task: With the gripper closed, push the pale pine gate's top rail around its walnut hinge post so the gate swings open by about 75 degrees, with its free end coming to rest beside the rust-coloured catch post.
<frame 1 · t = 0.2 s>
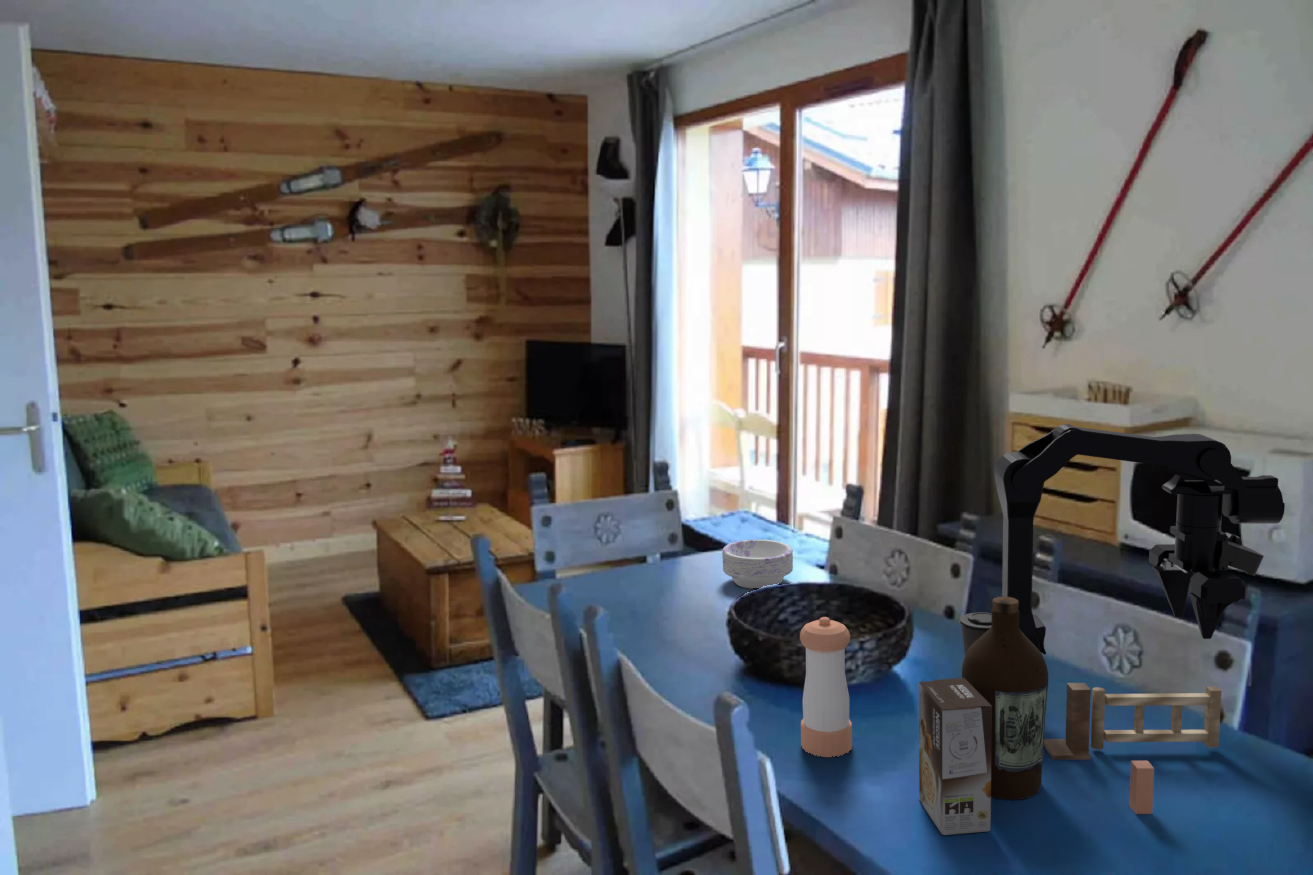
hand: (1192, 627, 152), 14 cm above the table, tool pointing down, fingers open, 9 cm apart
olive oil: (1002, 784, 137), on the table
catch post: (1140, 809, 129), on the table
coffee box: (953, 816, 129), on the table
hinge post: (1076, 751, 144), on the table
salt shaker: (826, 747, 149), on the table
gate: (1154, 718, 143), point 5 cm above the table, hinge at 0.0°
white patterned bowl: (758, 584, 227), on the table
coffee cup: (983, 674, 173), on the table
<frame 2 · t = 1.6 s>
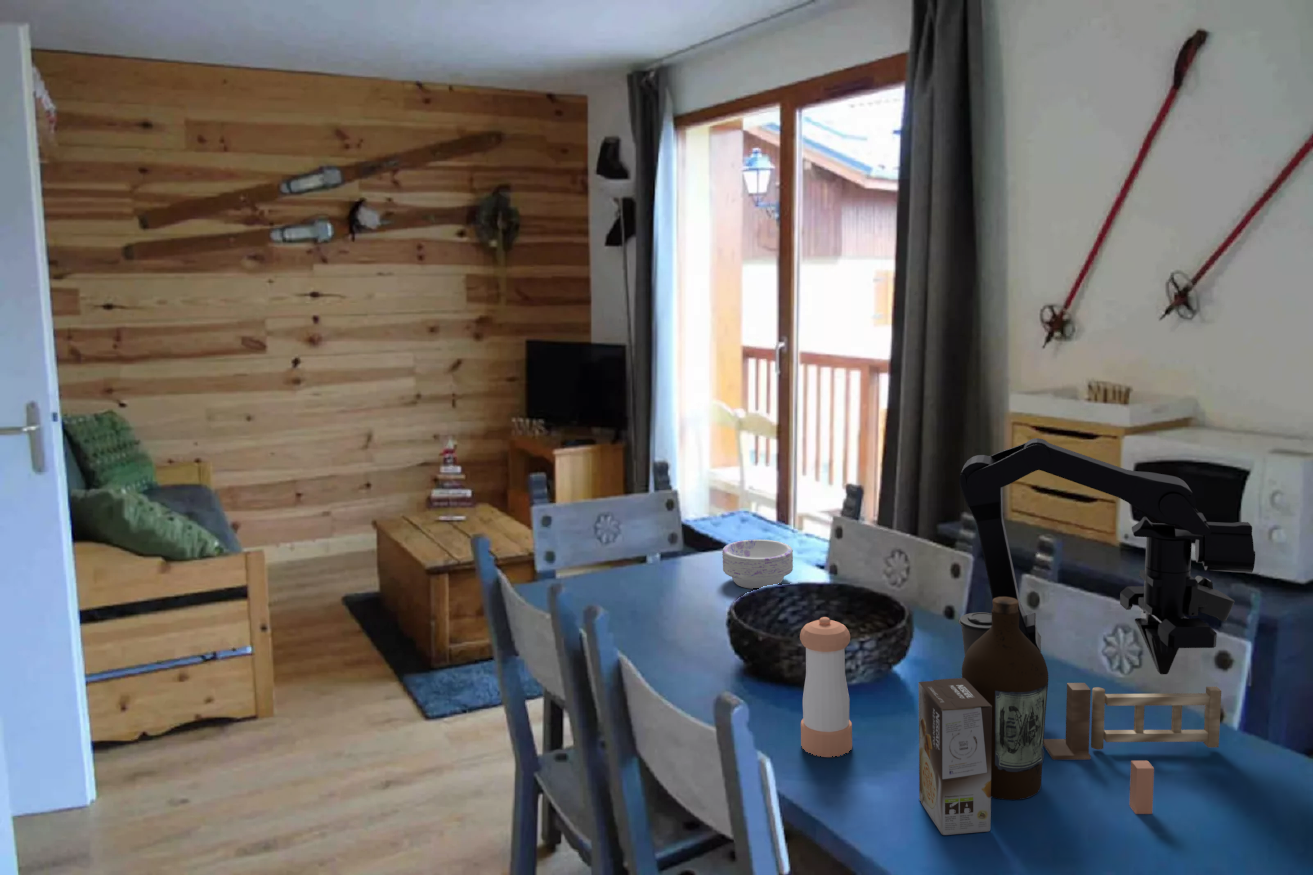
hand: (1162, 673, 148), 9 cm above the table, tool pointing down, fingers closed
nothing on the table moved.
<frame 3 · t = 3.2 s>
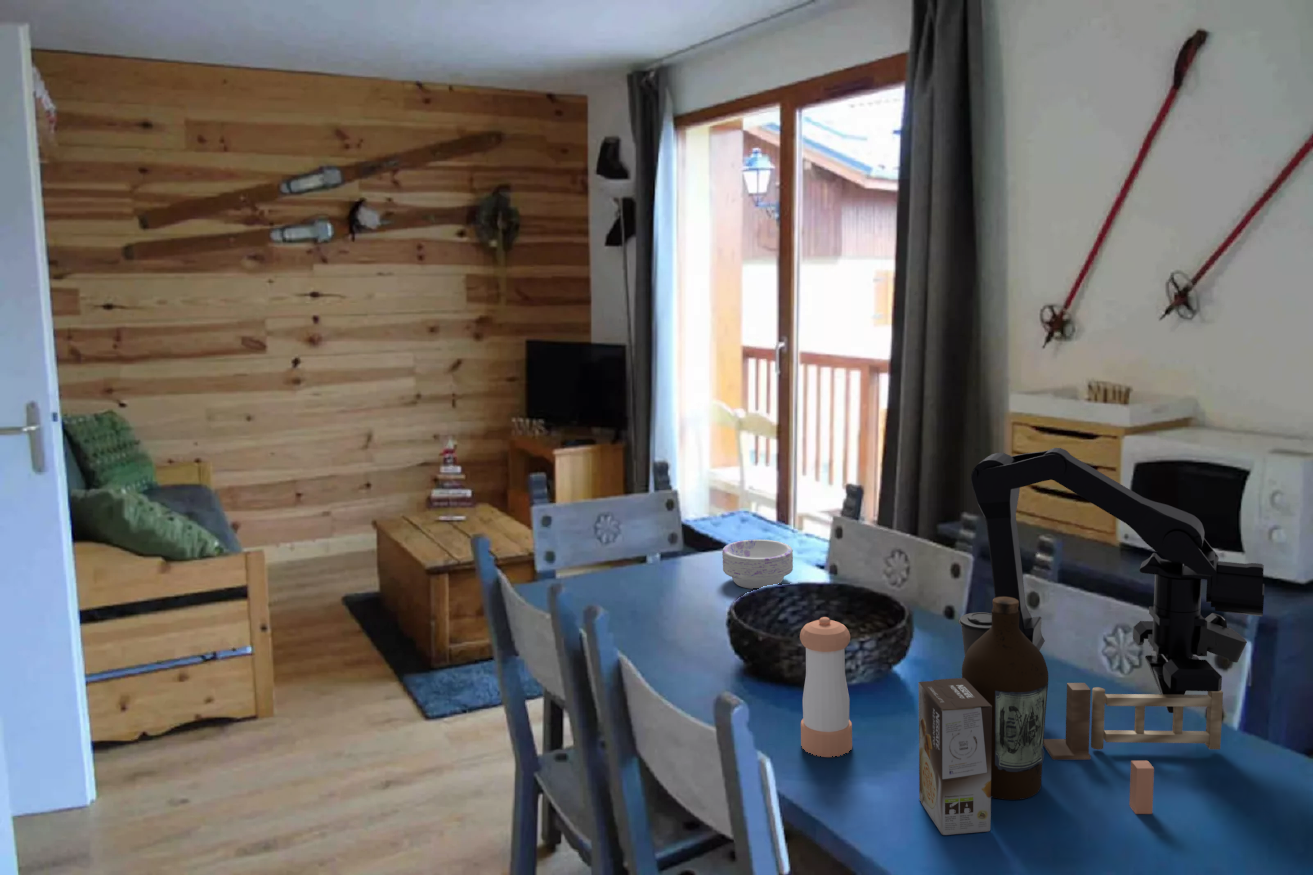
hand: (1172, 712, 145), 5 cm above the table, tool pointing down, fingers closed
gate: (1155, 718, 143), point 5 cm above the table, hinge at 2.1°, touching gripper
everything else where it was.
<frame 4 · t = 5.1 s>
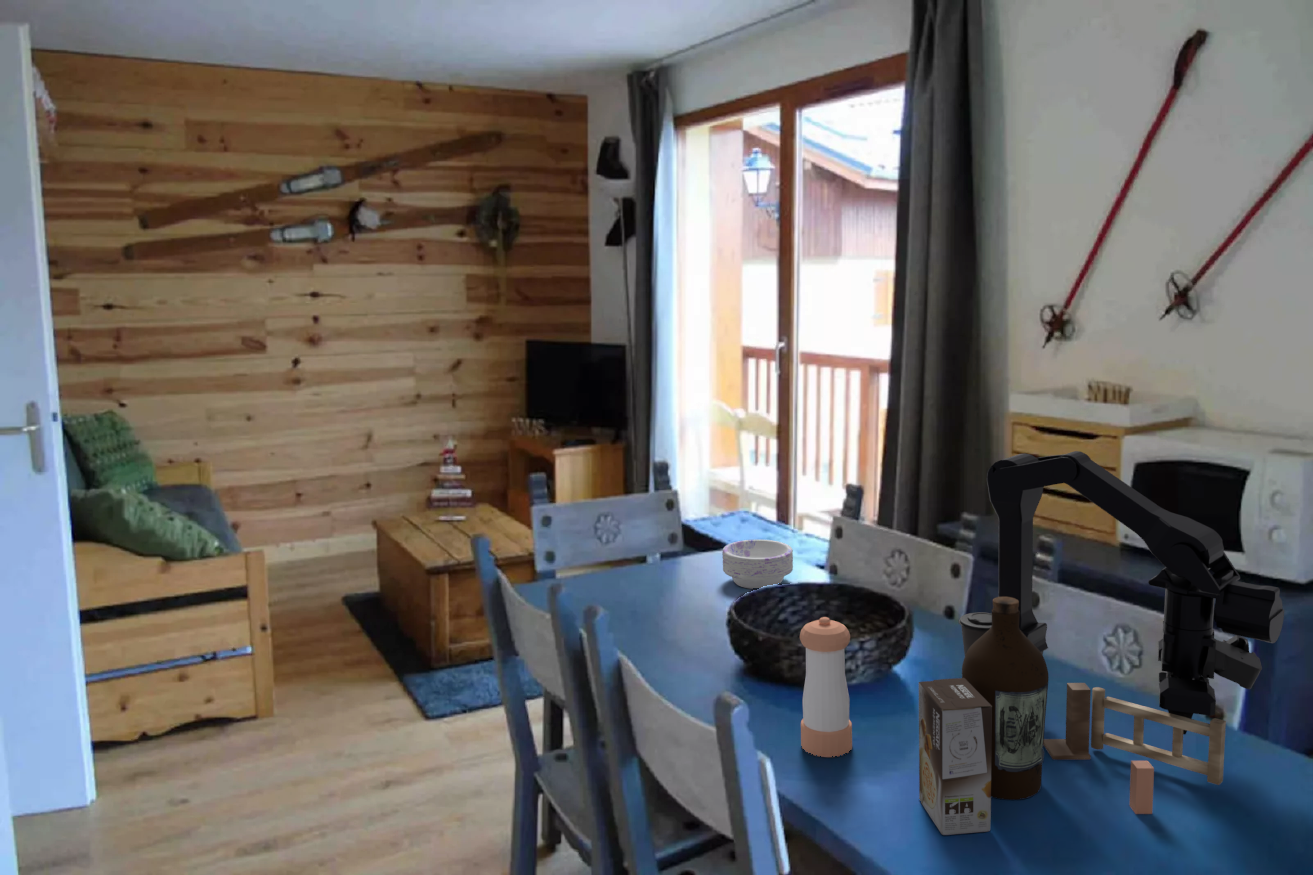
hand: (1181, 733, 138), 5 cm above the table, tool pointing down, fingers closed
gate: (1154, 734, 138), point 5 cm above the table, hinge at 42.3°, touching gripper
everything else where it was.
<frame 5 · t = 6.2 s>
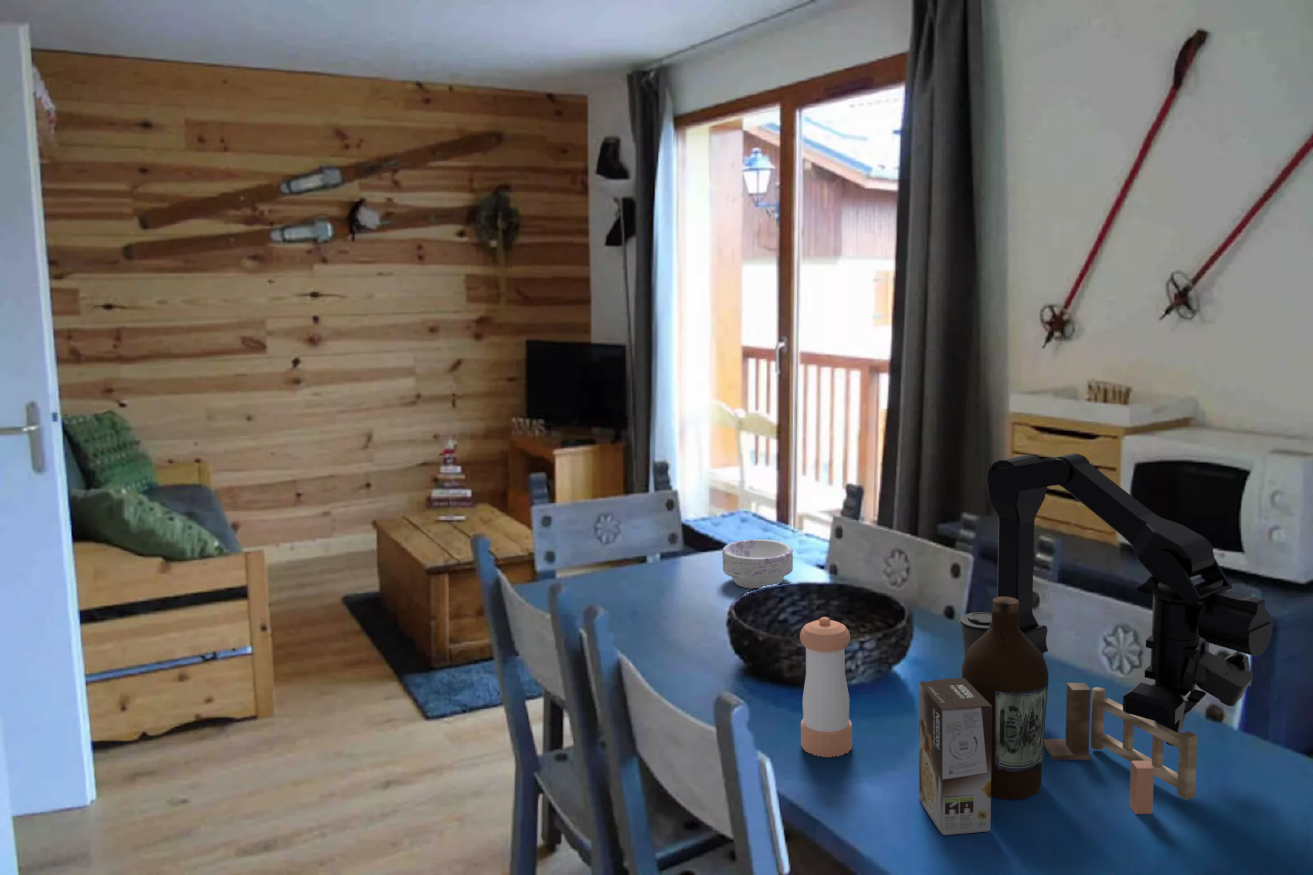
hand: (1171, 745, 135), 5 cm above the table, tool pointing down, fingers closed
gate: (1140, 740, 136), point 5 cm above the table, hinge at 66.2°, touching gripper
everything else where it was.
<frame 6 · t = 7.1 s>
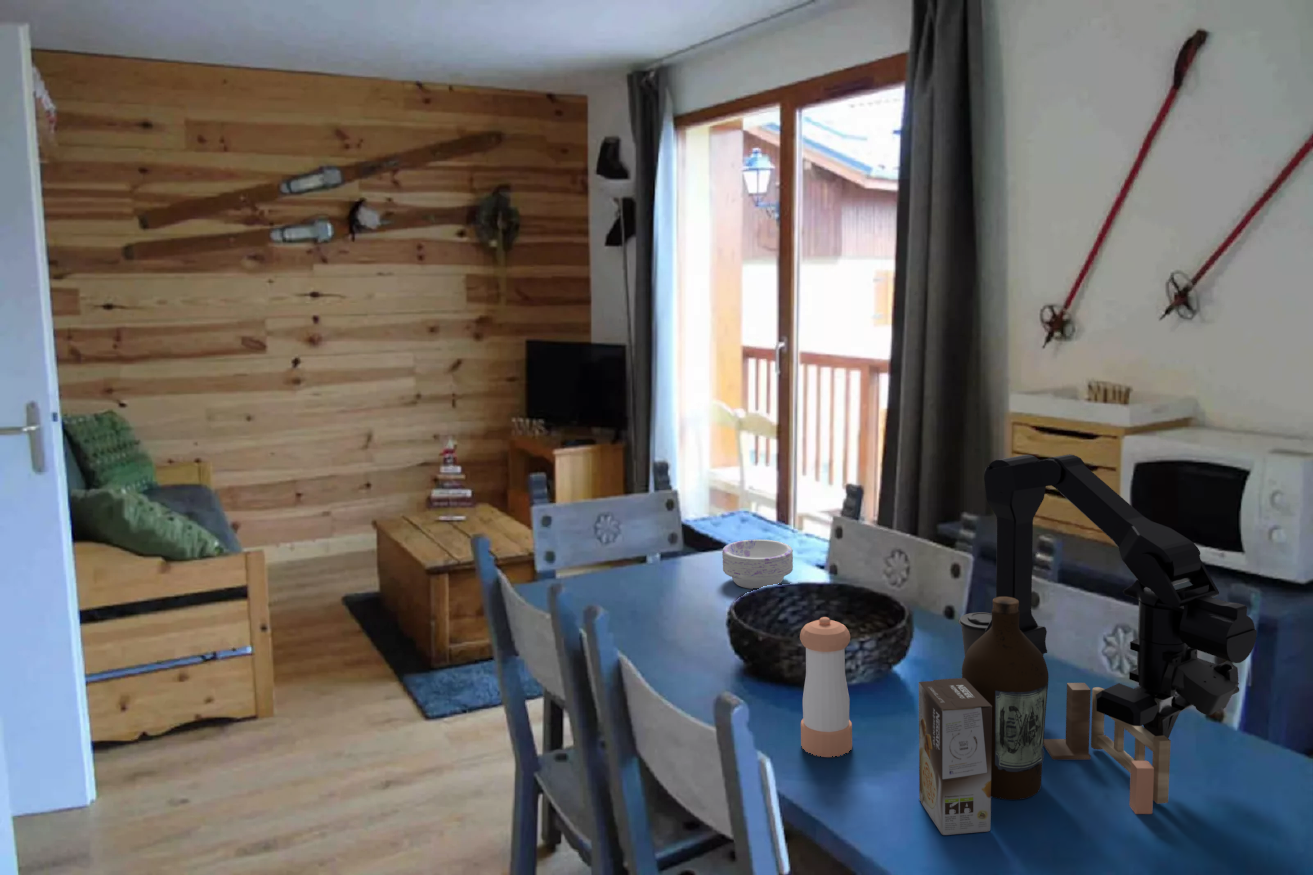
hand: (1158, 750, 134), 5 cm above the table, tool pointing down, fingers closed
gate: (1127, 742, 136), point 5 cm above the table, hinge at 80.4°, touching gripper
everything else where it was.
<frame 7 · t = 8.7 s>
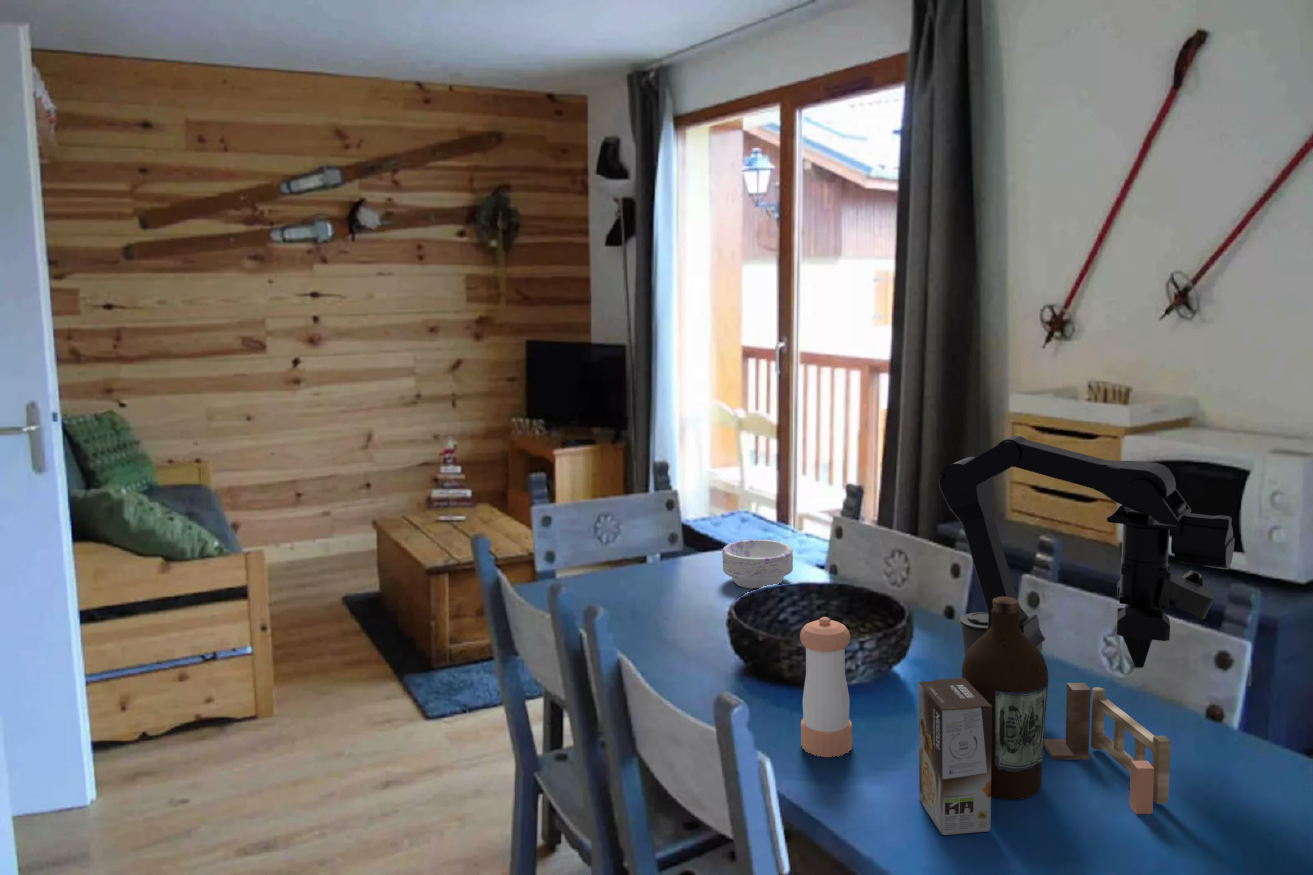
hand: (1138, 666, 143), 12 cm above the table, tool pointing down, fingers closed
gate: (1127, 742, 136), point 5 cm above the table, hinge at 80.4°
everything else where it was.
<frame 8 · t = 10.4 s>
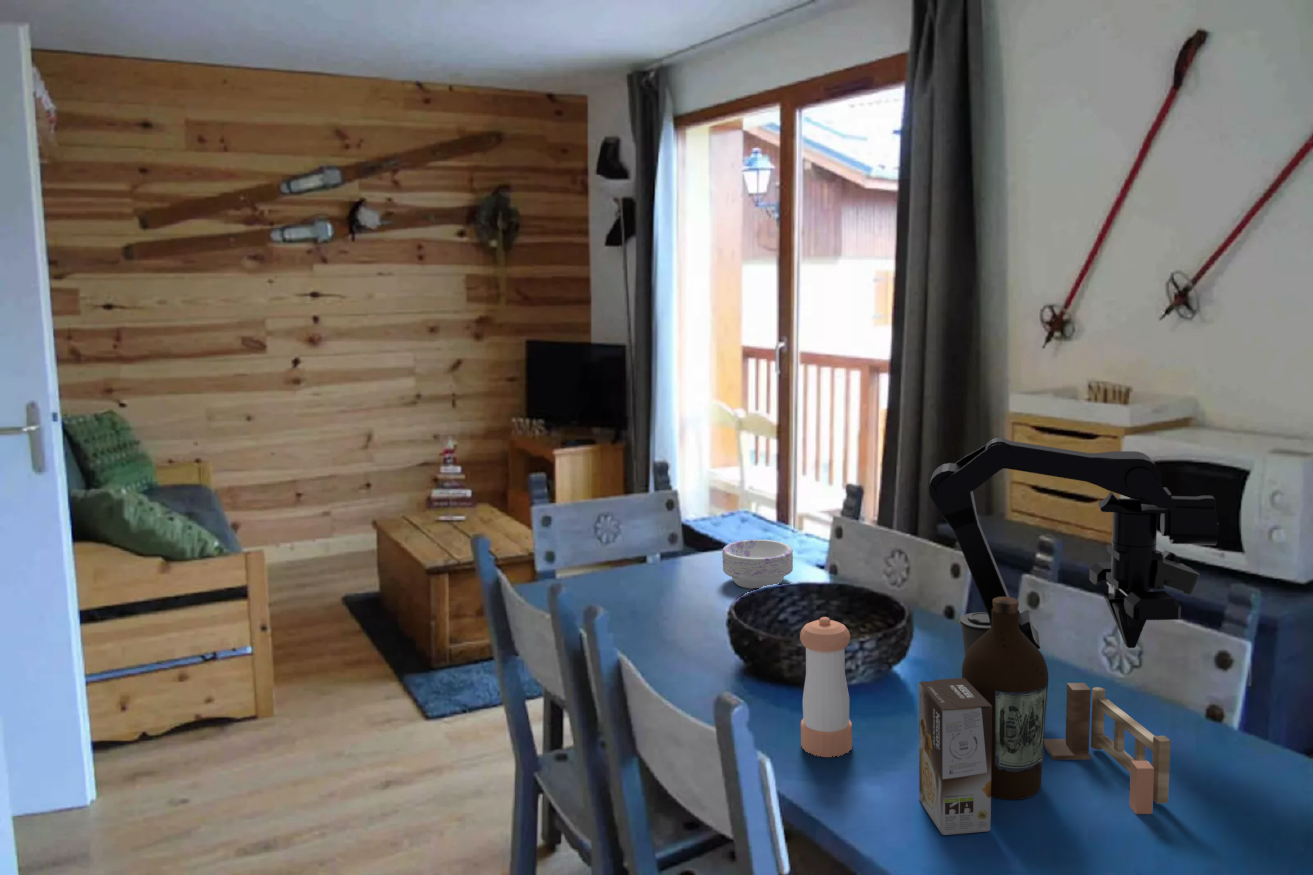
hand: (1130, 647, 150), 12 cm above the table, tool pointing down, fingers closed
nothing on the table moved.
at the end: gate at +80° (first picture: +0°); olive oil moved 0.2 cm from its start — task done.
